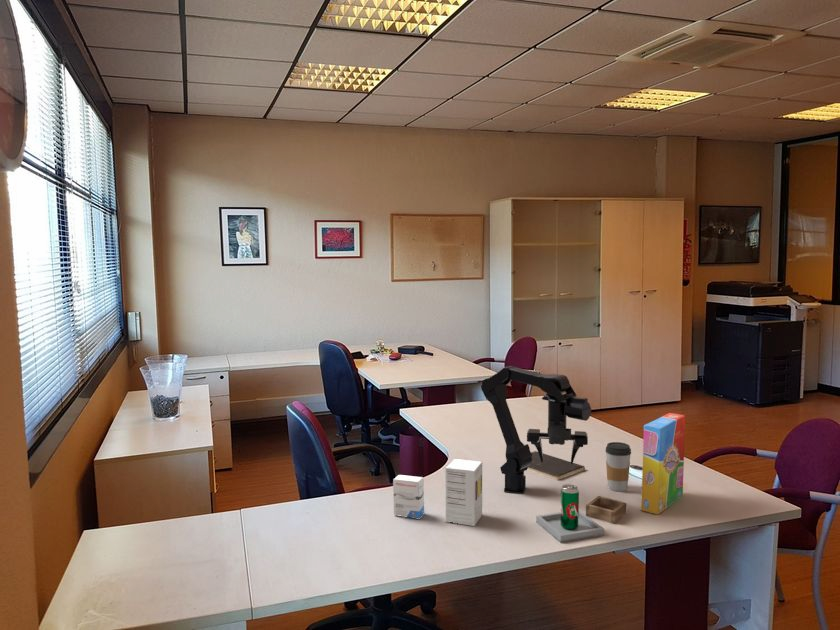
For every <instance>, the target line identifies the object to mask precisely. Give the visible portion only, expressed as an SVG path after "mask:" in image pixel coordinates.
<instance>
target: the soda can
mask: <svg viewBox="0 0 840 630" xmlns="http://www.w3.org/2000/svg"><path fill="white" fill-rule="evenodd" d="M579 504H580V490H579V488H578V486H577V485H574V484H569V483H568V484H563V485H562V487H561V489H560V512H561V526H562V527H563V528H564V529H567V530H574V529H576V528H577V527H578V518H579V511H580V508H579V507H580V505H579Z"/></svg>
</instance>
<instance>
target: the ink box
mask: <svg viewBox="0 0 840 630" xmlns="http://www.w3.org/2000/svg"><path fill="white" fill-rule="evenodd" d="M392 480H393V481H392V488H393V516H394V515H401V516H407V517H414V518H420V517H421V516H422V515H423V516H424V514H425V491H424V489H425V487H424V486H425V485H424V483H425V481H424V480H425V479H424V477H423V476H416V475H415V476H413V475H404V474H398V475H397V476H395V478H393V479H392ZM423 513H424V514H423ZM423 516H422V517H423ZM422 517H421V518H422ZM421 518H420V519H421Z"/></svg>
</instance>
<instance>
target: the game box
mask: <svg viewBox="0 0 840 630" xmlns="http://www.w3.org/2000/svg"><path fill="white" fill-rule="evenodd" d="M685 433H686V416H685V414H679V413H673V412H668V413H667V414H664V415H662V416H661V417H658V418H657V419H655V420H653V421H650V422H648V423H646V424H644V425H643V441H642V442H643V444H642V474H641V475H642V476H641V499H640V500H641V502H640V503H641V505H640V510H641V511H643V512H646V513H650V514H654V515H659V514H661V513H662V512H663V511H665V510H666V509H668V507H670V506H672V505H673V504H674V503H676V502H677V501H678V500H679V499H681V498H682V497H683V494H684V470H685V469H684V467H685V466H684V465H685V464H684V463H685V459H684V458H685V442H686V441H685V438H686V435H685Z"/></svg>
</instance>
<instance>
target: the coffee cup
mask: <svg viewBox="0 0 840 630" xmlns="http://www.w3.org/2000/svg"><path fill="white" fill-rule="evenodd" d="M631 454H632V448H631V446H630V445H629V444H628V443H626V442H620V441H618V442H617V441H611V442H608V443H607V445H606V447H605V457H606V461H605V463H606V479H607V480H606V482H607V487H608V489H609V490H610V491H613V492H618V493H619V492H626V491H627V489H628V482H629V477H630V465H631Z"/></svg>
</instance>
